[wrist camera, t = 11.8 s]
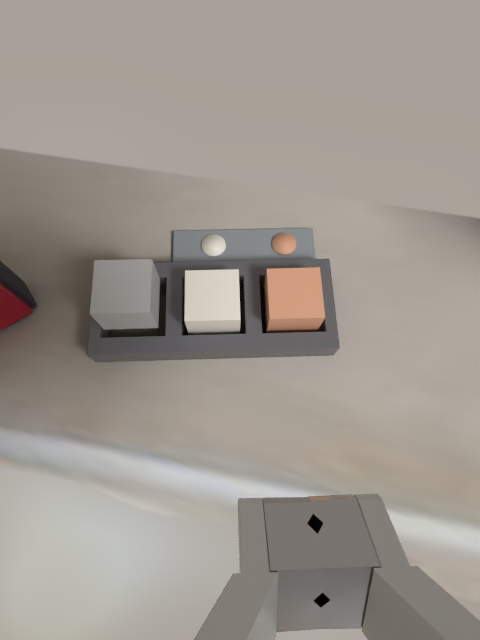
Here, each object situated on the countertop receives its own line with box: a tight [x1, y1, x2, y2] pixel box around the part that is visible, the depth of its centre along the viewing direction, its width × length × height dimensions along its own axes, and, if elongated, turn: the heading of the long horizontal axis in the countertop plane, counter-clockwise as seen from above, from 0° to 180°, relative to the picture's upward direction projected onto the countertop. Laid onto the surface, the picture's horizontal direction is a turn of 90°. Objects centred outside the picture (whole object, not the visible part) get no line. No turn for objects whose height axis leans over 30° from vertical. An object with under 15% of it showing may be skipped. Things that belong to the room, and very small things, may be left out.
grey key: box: [90, 259, 160, 330], centre depth 35 cm, size 5×5×4 cm
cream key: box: [184, 269, 241, 335], centre depth 37 cm, size 5×5×4 cm
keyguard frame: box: [87, 259, 340, 362], centre depth 39 cm, size 22×9×2 cm, turn 92°
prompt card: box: [173, 228, 315, 262], centre depth 42 cm, size 14×4×1 cm, turn 92°
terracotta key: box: [264, 267, 325, 333], centre depth 37 cm, size 5×5×4 cm
